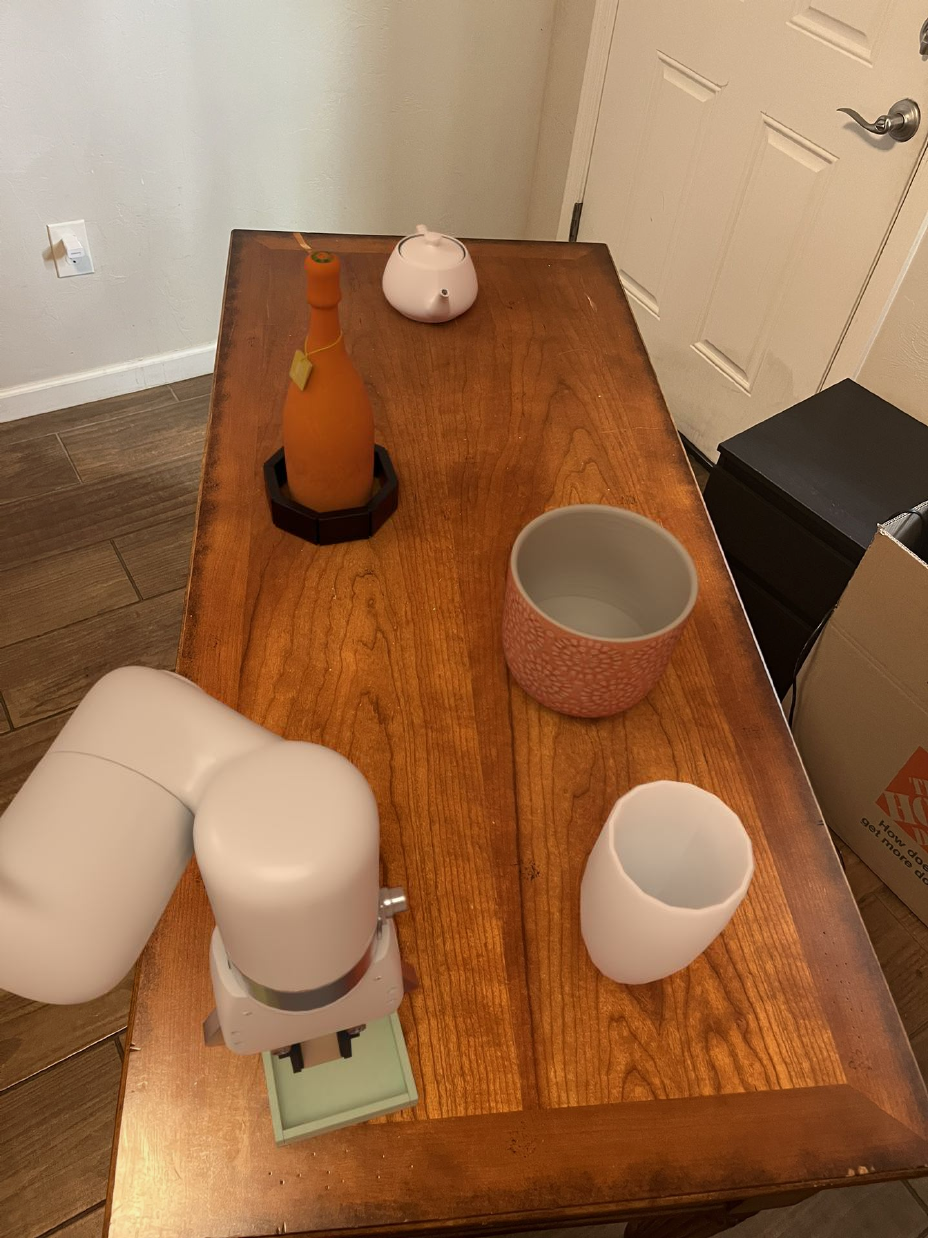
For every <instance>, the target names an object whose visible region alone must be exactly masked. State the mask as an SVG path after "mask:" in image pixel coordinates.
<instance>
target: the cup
mask: <svg viewBox="0 0 928 1238" xmlns="http://www.w3.org/2000/svg"><path fill="white" fill-rule="evenodd" d="M600 831H601V832H600V833H599V835H598V837H597V839H596V841H595V843H594V846H593V848H592V850H591V852H590V854H589V856H588V859H587V862H586V865H585V866H586V867H585V869H584V873H583V877H582V880H581V884H580V905H579V906H580V907H579V909H580V910H579V911H580V912H579V913H580V930H581V931H580V932H581V936H582V940H583V941H584V944H585V947H586V949H587V952H588V955H589V958H590V961H591V963H592V964H593V965H594V966H595V967H596V968H597V969H598V970H599V972H600V973H601V974H602V975H603V976H605V977H607V978H608V979H610V980H612V981H614V982H616V983H618V984H619V983H620V984H627V985H633V986H635V985H643V984H648V983H652V982H654V981H658V980H662V979H665V978H667V977H669V976H671V975H673V974H676V973H677V972H679V971H681V970H683V969H685V968H686V967H688V966H689V965H690V964H691V963H693V962H694V961H695V959H697V958H698V957H699V956H700V955H701V954H702V953H703V952H704V951H705V950H706V949H707V948H708V947H709V946H710V945H711V944H712V943H713V942H714V940H716V939H717V937H718V936H719V935H720V934H721V933H722V931H724V929H725V928H727V926H728V924H729V922H730V921H731V919H732V918H733V916H734V915H735V913H736V912H737V909H738V908H739V906H740V904H741V903H742V901H743V900H744V898H745V896H746V895H747V892H748V890H749V887H750V884H751V881H752V878H753V876H754V873H755V870H756V869H755V859H754V850H753V842H752V840H751V838H750V836H749V834H748V832H747V830H746V829H745V827H744V824H743V822H742V821H741V818H740V817H739V816H738V815H737V814H736V813H735V812H734V811H733V810H732V809H731V808H730V807H729V806H728V805H726V804H725V802H723V800H721V799H720V798H719V797H718V796H717V795H715V794H713V793H711V792H709V791H707V790H705V789H703V788H700V787H699V786H697V785H695V784H692V783H690V782H683V781H682V782H681V781H674V780H669V779H667V780H666V779H659V780H655V781H650V782H646V783H641V784H637V785H635V786H634V787H633V788H631V789H630V790H629V791H627V792H626V793H624V794H623V795H622V796H620V797H619V798H618V799H616V801H615V803H614V805H613V807H612V809H611V810H610V813H609V815H608V817H607V819H606V821H605V823H604V825H603V827H602V829H601V830H600Z"/></svg>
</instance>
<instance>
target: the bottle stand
mask: <svg viewBox="0 0 928 1238" xmlns="http://www.w3.org/2000/svg"><path fill="white" fill-rule="evenodd" d="M262 469H263V471H262V472H263V480H264V491H265V495H266V500H267V504H268V509H269V512H270V516H271V521H272V524H273V525H274V526H275V528H278V529H279V530H282V531H284V532H286V533H289V534H291V535H292V536H295V537H297V538H299V539H301V540H304V541H306V542H308V543H310V544H312V545H315V546H317V547H318V545H319V547H322V546H330V545H336V544H343V543H349V542H350V543H351V542H355V541H356V542H357V541H363V540H368V539H370V538H373V537H374V536H375V534H376V533H377V532H378V531H379V530H380V529H381V528H382V526H384V524H385V523H386V522H387V521H388V520H389V519H390V518H391V516H392V515H394V514H395V512H396V511H397V510H398V506H399V488H400V487H399V483H400V480H399V478H398V475H397V472H396V469H395V467H394V463H393V462H392V459H391V456H390V454H389V451H388V449H386V447H384V446H382V445H380V444H377V443H375V442H374V470H373V478H376V479H377V481H378V483H379V487H380V489H379V490H378V491H377V492H376V493H375V494H374V495H373V496H371V498H370V501H369V502H368V503H367V504H366V505H365V506H362V507H355V508H348V509H341V510H334V511H327V512H320V513H319V512H317V511H315V510H313V509H310V508H308V507H306V506H304V505H302V504H299V503H297V502H295V501H293V500H292V499H291V498H288V497H286V496H284V495H282V493H281V488H282V487H283V486H284V485H285V484H286V483H288V478H287V470H286V461H285V452H284V444H282V446H281V447H280V448H278V450H277V451H276V452H275V453H273V454H272V455H271V456H270V457H268V459H267V460H266V461H264V462H263V465H262Z"/></svg>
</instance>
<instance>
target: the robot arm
mask: <svg viewBox="0 0 928 1238" xmlns="http://www.w3.org/2000/svg"><path fill="white" fill-rule="evenodd" d="M379 817H380V816H379V808H378V804H377V800H376V797H375V794H374V792H373V790H372V788H371V786H370V784H369V782H368V780H367V778H366V777H365V776H364V775H363V773H362V772H361V771H360V769H359V768H358V767H357V766H356V765H355V764H354V763H352V761H350V760H349V759H348V758H347V757H345V756H344V755H342V754H341V753H339V752H337V751H336V750H334V749H332V748H330V747H327V746H325V745H322V744H319V743H314V742H311V741H301V740H287V739H285V737H282V736H280V735H279V734H277V733H275V732H273V731H272V730H270V729H268V728H266V727H264V726H262V725H260V724H259V723H258V722H257V723H256V722H255V721H253V720H251V719H250V718H248V717H246V716H245V715H243V714H241V713H239V711H236V710H235V709H233V708H231V706H228V705H227V704H226V703H223V702H222V701H220V700H219V699H217V698H215V697H213V696H212V695H210V694H209V693H206V691H205V690H204V689H203V688H202V687H200V686H199V685H198V684H196V683H195V682H193V681H192V680H190V679H188V678H187V677H185V676H183V675H181V674H179V673H176V672H173V671H170V670H165V669H156V668H152V667H149V666H144V665H128V666H126V665H125V666H122V667H118V668H116V669H113V670H112V671H109V672H108V673H106V674H105V675H103V676H102V677H100V679H98V681H96V683H95V684H94V685H93V686H92V687H91V688H90V690H88V692H87V693H86V695H85V696H83V699H82V700H81V701H80V703H79V704H78V706H77V707H76V708H75V709H74V711H73V713H72V714H71V716H70V717H69V719H68V720H67V721H66V723H65V725H64V726H63V727H62V729H61V730H60V732H59V734H58V735H57V736H56V738H55V739H54V741H53V742H52V744H51V745H50V747H49V748H48V749H47V751H46V752H45V754H44V755H43V757H42V758H41V759H40V761H38V763H37V765H36V766H35V767H34V769H33V770H32V772H31V773H30V775H29V776H28V777H27V779H26V781H25V782H24V783H23V785H22V786H21V788H20V789H19V790H18V792H17V793H16V795H15V796H14V797H13V799H12V801H11V802H10V804H8V806H7V808H5V811H4V812H3V813H2V815H1V816H0V989H2V990H5V991H7V992H9V993H12V994H15V995H17V996H19V997H21V998H24V999H28V1000H31V1001H36V1002H39V1003H43V1004H51V1005H59V1006H61V1005H63V1006H65V1005H66V1006H67V1005H68V1006H69V1005H79V1004H85V1003H88V1002H90V1001H93V1000H96V999H98V998H100V997H101V996H103V995H106V994H107V993H109V992H110V991H111V990H113V989H114V988H115V987H117V986H118V984H119V983H120V982H121V981H122V980H123V979H124V978H125V977H126V976H127V975H128V973H129V972H130V971H131V969H132V968H133V967H134V966H135V964H136V962H137V961H138V959H139V957H140V955H141V954H142V952H143V951H144V949H145V947H146V945H147V943H148V941H149V939H150V938H151V936H152V934H153V932H154V930H155V929H156V926H157V924H158V923H159V921H160V919H161V918H162V915H163V914H164V911H165V910H166V908H167V906H168V904H169V902H170V900H171V898H172V896H173V894H174V892H175V890H176V888H177V887H178V885H179V882H180V881H181V879H182V877H183V875H184V873H185V871H186V869H187V867H188V865H189V863H190V861H191V859H192V857H193V855H194V854H195V859H196V863H197V866H198V870H199V872H200V875H201V879H202V882H203V885H204V888H205V891H206V895H207V898H208V901H209V904H210V907H211V911H212V914H213V917H214V920H215V926H214V928H213V932H212V935H211V940H210V945H209V958H208V959H209V970H210V978H211V984H212V990H213V995H214V1002H215V1007H214V1008H213V1009H212V1010H211V1012H210V1013H209V1015H208V1016H207V1017H206V1019H204V1021H203V1023H202V1032H203V1041H204V1042H203V1043H204V1046H205V1047H206V1048H211V1047H219V1046H220V1047H221V1046H226V1047H227V1049H228V1050H229V1051H231V1052H233V1053H234V1054H235V1055H237V1056H240V1057H244V1056H252V1055H258V1054H262V1052H266V1051H270V1050H271V1054H272V1055H274V1056H277V1055H278V1057H279V1059H283V1058H286V1057H290V1060H291V1064H292V1068H293V1073H294V1074H295V1073H299V1072H302V1070H301V1069H304V1063H303V1057H302V1052H301V1046H300V1042H303V1041H306V1040H310V1039H314V1038H317V1037H321V1036H324V1035H328V1034H331V1033H335V1032H336V1034H337V1039H338V1045H339V1050H340V1055H341V1056H342V1057H344V1059H347V1058H350V1057H352V1047H351V1039H353V1038H356V1037H360V1032H361V1031H363V1030H365V1029H366V1023H369V1022H372V1021H375V1020H378V1019H381V1018H384V1017H386V1016H388V1015H390V1014H392V1013H394V1012H395V1011H396V1010H397V1011H398V1009H399V1007H400V1006H401V1004H402V1003H403V999H404V996H405V995H407V994H410V993H412V992H414V991H416V990H418V989H419V988H420V984H419V983H420V982H419V980H418V976H417V975H418V974H417V971H416V968H415V966H414V965H413V964H411V963H409V962H408V961H405V960H404V959H402V958H401V955H400V949H399V944H398V939H397V933H396V928H395V924H394V919H393V918H394V915H397V914H402V913H405V912H408V904H407V899H406V893H405V891H404V888H403V886H402V884H399V885H395V886H390V887H388V886H387V885H383V886H380V828H381V827H380V818H379ZM342 1057H341V1058H342Z"/></svg>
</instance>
